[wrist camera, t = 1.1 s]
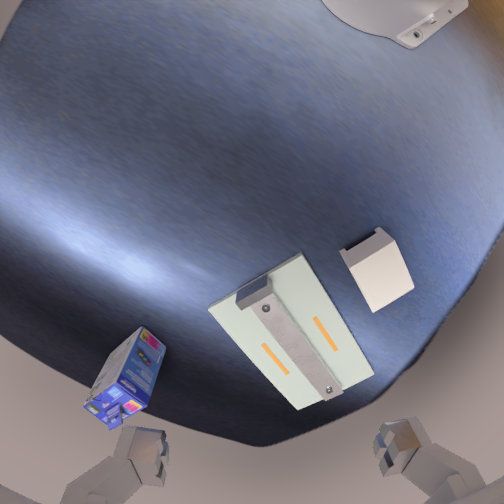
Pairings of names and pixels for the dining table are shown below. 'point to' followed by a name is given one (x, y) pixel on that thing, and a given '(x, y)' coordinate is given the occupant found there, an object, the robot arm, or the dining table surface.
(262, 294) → the rail
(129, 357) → the ink cartridge box
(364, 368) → the mounting board
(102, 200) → the dining table surface
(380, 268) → the block
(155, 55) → the dining table surface
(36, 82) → the dining table surface
